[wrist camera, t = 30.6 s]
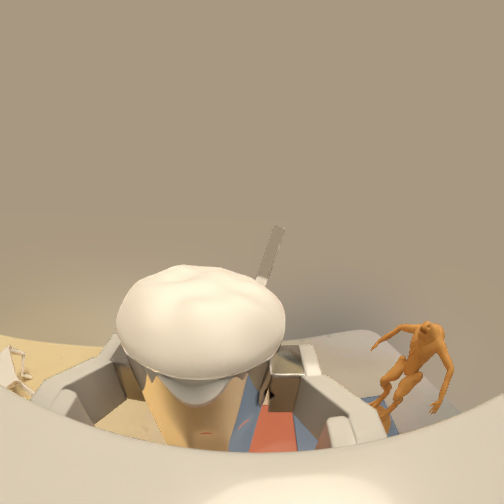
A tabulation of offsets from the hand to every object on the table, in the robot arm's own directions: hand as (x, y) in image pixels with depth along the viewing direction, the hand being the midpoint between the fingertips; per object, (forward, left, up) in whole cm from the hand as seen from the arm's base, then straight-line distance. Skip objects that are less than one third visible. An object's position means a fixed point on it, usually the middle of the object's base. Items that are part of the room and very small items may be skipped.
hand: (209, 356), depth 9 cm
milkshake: (0, +1, -6) cm, 6 cm away
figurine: (-12, -5, -14) cm, 19 cm away
